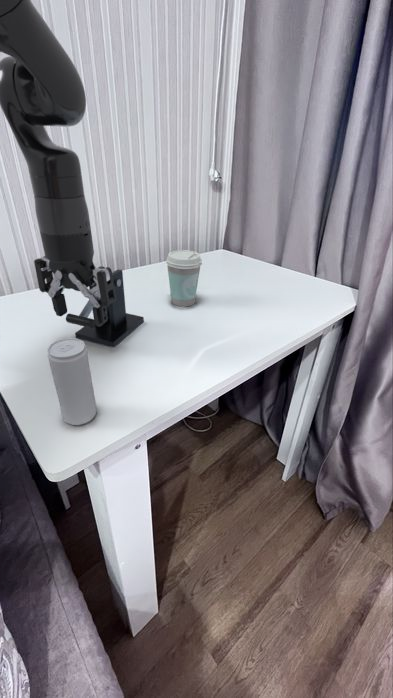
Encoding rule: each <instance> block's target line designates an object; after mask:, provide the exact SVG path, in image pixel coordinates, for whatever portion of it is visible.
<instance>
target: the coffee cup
mask: <svg viewBox="0 0 393 698" xmlns="http://www.w3.org/2000/svg"><path fill="white" fill-rule="evenodd" d="M165 264H166V266H167V274H168V282H169V284H168V285H169V291H170V299H171V303H172V305H174V306H175V307H176V306H177V307H190V306H193V305H195V302H196V298H197V297H196V296H197V290H198V285H199V284H198V283H199V277H200V276H199V275H200V271H201V266H202V265H203V262H202V258H201V254H200V253H199V252H198V251H197V252H196V251H195V250H187V249H178V250H173V251H170V252H168V254H167V257H166V259H165Z"/></svg>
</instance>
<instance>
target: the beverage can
mask: <svg viewBox="0 0 393 698" xmlns="http://www.w3.org/2000/svg"><path fill="white" fill-rule="evenodd" d="M47 360H48V364H49V367H50V372H51V376H52V380H53V384H54V387H55V388H54V389H55V393H56V397H57V401H58V404H59V409H60V412H61V416H62V419H63V422H65V423H67V424H69V425H72V426H80V425H85V424H88V423H89V422H91V421H92V420H93V419H94V418H95V416H96V415H97V411H98V409H97V402H96V398H95V397H96V396H95V390H94V384H93V380H92V372H91V367H90V361H89V355H88V348H87V346H86V343H85V342H84V341H83V339H79V338H76V337H75V338H74V337H66V338H61V339H58V340H56V341H53V342H52V343H51V344H50V345H48V347H47Z"/></svg>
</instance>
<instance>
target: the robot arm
mask: <svg viewBox="0 0 393 698" xmlns="http://www.w3.org/2000/svg"><path fill="white" fill-rule="evenodd" d="M0 53H2V54H6V55H8V56H5V57H4V58H2V59H0V108H1V110H2V112H3V115H4V117H5V119H6V121H7V124H8V125H9V127H10V130H11V132H12V134H13V136H14V138H15V141H16V143H17V144H18V147H19V149H20V151H21V153H22V155H23V158H24V160H25V163H26V166H27V170H28V174H29V179H30V184H31V190H32V193H33V199H34V209H35V217H36V220H37V225H38V229H39V235H40V240H41V243H42V248H43V252H44V253H43V254H44V256H41V257H38V258H36V259H34V261H33V263H34V269H35V273H36V279H37V284H38V289H39V291H40V292H41V293H46V294H47V295H48V296H49V298H51V302H52V308H53V310H54V313H55V315H56V316H58V317H63V316H65V315H67V314H68V307H67V306H68V305H67V302H66V297H65V293H63V292H64V291H65V289H67V290H70V289H71V290H74V291H75V292H80V293H81V294H82V296H83V297H84V298H86V299H88V301H89V300H90V301H91V303H92V304H93V305H94V307H93V310H92V312H93V311H94V317H95V324H96V325H97V326H102V325H103V324H104V323H105V322H106V321H107V319H108V316H107V308H106V307H107V306H108V305H109V304H111V303H112V302H114V301H116V295H115V288H114V282H113V276H112V272H113V270H112V268H111V267H109V266H107V267H105V268H104V269H99V268H98V267H96V266H95V263H94V255H95V250H94V242H93V234H92V226H91V219H90V213H89V212H90V211H89V208H88V203H87V199H86V195H85V188H84V182H83V174H82V168H81V167H82V166H81V161H80V157H79V156H78V154H77V153H76V152H75V151H74V150H73V149H70V148H67V147H64V146H60V145H59V144H58V145H57V144H56V143H55V142H54V141H53V140H52V139H51V137H50V135H49V134H48V131H47V130H46V127H65V128H68V127H74V126H77V125H78V124H80V123H81V121H82V120H83V118H84V116H85V115H86V108H87V98H86V97H87V96H86V90H85V87H84V83H83V81H82V78H81V75H80V73H79V71H78V70H77V67H76V65H75V64H74V62H73V60H72V59H71V57H70V56H69V54H68V53H67V51H66V50H65V48H64V47H63V45H62V44H61V43H60V41H59V40H58V39H57V37H56V36H55V34H54V33H53V31H52V30H51V28H50V27H49V25H48V24H47V22H46V20H45V19H44V17H43V16H42V15H41V14H40V12H39V10H38V9H37V7H35V5H34V3H33V2H32V0H0ZM95 277H96V279H95ZM90 284H91V285H92V287H93V288H92V289H89V286H90ZM94 293H95V294H96V295H97V297H98V298H99V299H97V297H96V296H95V295H94ZM94 317H93V318H94Z"/></svg>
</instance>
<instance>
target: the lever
mask: <svg viewBox="0 0 393 698" xmlns="http://www.w3.org/2000/svg"><path fill="white" fill-rule="evenodd" d="M94 295H95V296H96V297H97V295H96V294H95V293H94ZM97 299H99V298H98V297H97ZM93 307H94V305H93V304H92V303H91V301H90V300H89V299H88V301H87V302H86V303H85V305H84V306H83V308H82V310H81V312H80V313H79V314H78V315H77V314H73V313H66V316H65V322H67V323H68V324H73V325H77V326H81V327H88V328H94V326H95V320H94V318H90V317H89V316H90V315H91V313H92V312H93V310H92V309H93Z"/></svg>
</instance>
